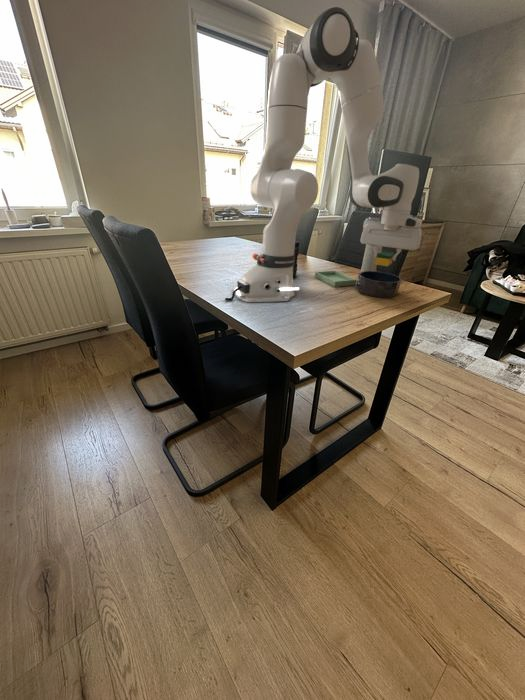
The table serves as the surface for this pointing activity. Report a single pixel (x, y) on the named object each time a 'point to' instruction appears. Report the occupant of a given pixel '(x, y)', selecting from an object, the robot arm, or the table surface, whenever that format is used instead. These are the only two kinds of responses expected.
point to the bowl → (378, 284)
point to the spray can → (370, 258)
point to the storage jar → (296, 252)
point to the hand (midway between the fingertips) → (384, 259)
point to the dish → (335, 278)
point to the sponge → (384, 259)
